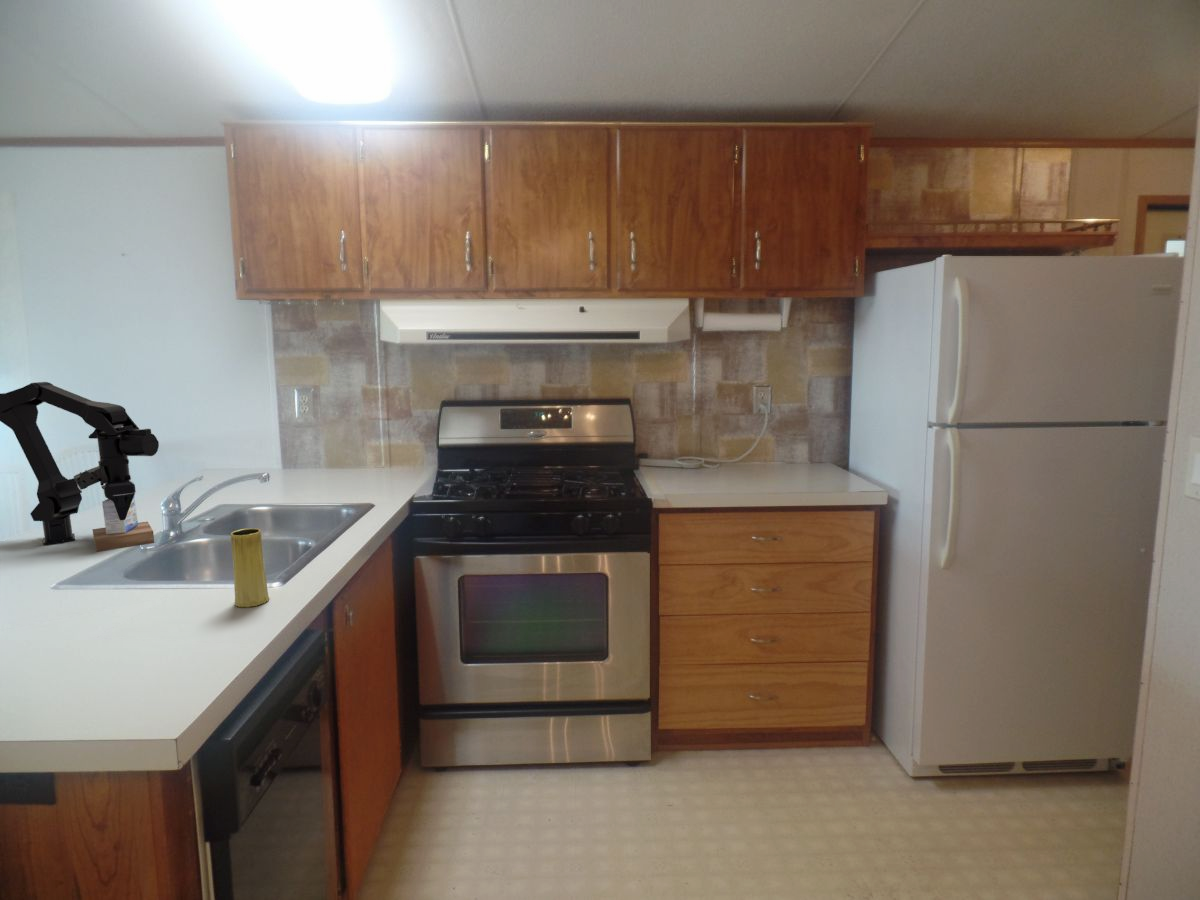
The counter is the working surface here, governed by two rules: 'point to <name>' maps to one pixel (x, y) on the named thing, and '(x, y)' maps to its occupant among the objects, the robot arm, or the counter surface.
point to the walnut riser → (123, 537)
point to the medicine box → (114, 522)
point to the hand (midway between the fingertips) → (120, 516)
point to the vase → (248, 568)
